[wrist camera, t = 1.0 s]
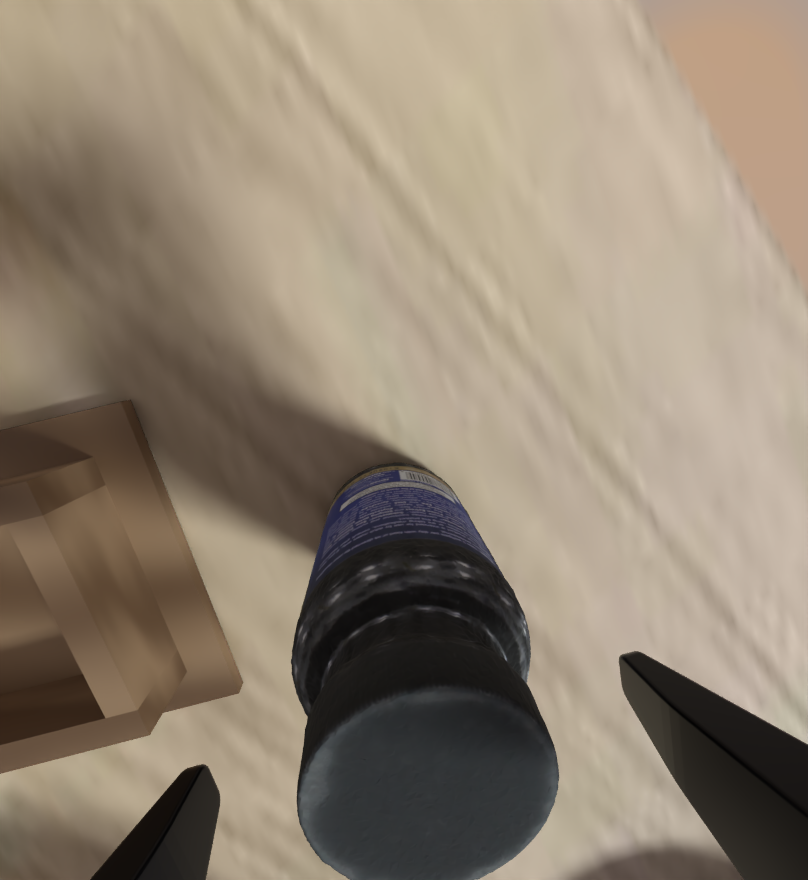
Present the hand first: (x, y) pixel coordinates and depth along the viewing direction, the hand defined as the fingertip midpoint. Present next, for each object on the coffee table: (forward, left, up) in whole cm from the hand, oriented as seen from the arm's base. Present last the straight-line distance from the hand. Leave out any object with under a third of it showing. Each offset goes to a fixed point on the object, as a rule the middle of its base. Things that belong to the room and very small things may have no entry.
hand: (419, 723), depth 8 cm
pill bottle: (0, 0, -10) cm, 10 cm away
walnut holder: (+1, +16, -10) cm, 19 cm away
